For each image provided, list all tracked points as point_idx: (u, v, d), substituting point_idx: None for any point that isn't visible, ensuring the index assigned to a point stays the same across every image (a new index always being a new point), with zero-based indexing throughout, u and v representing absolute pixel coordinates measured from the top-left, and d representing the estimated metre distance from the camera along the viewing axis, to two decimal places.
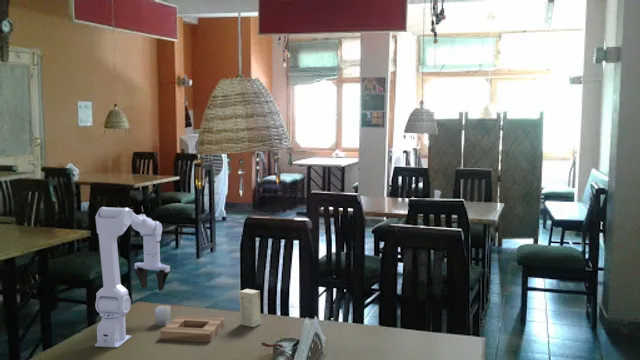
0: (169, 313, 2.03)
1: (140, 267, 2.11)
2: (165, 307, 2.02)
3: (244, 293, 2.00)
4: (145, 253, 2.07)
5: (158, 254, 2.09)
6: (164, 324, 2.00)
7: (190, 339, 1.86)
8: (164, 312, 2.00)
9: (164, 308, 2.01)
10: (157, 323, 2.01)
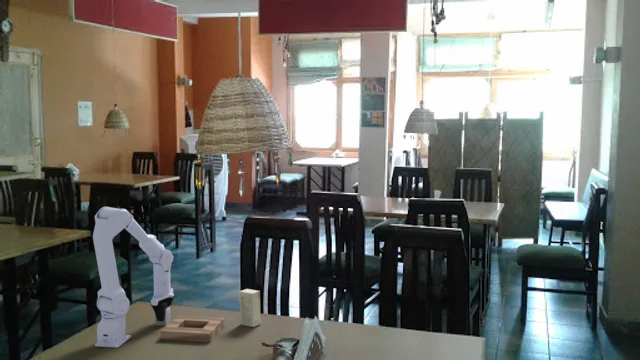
0: (169, 313, 2.03)
1: None
2: None
3: (244, 293, 2.00)
4: (154, 281, 2.00)
5: (159, 284, 1.98)
6: (164, 324, 2.00)
7: (190, 339, 1.86)
8: None
9: None
10: (157, 323, 2.01)
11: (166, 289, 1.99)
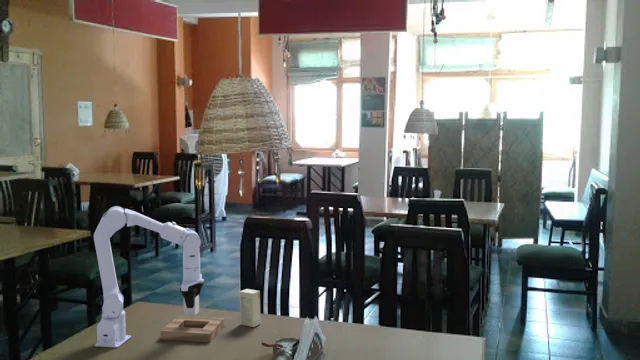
0: (198, 302, 1.94)
1: None
2: None
3: (244, 293, 2.00)
4: None
5: (189, 269, 1.89)
6: (193, 313, 1.91)
7: (190, 339, 1.86)
8: None
9: None
10: (185, 312, 1.91)
11: (196, 274, 1.90)
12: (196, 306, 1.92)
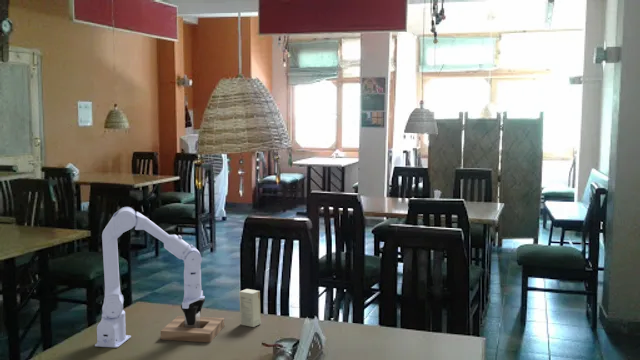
0: (199, 319, 1.94)
1: None
2: None
3: (244, 293, 2.00)
4: None
5: (190, 287, 1.89)
6: None
7: (190, 339, 1.86)
8: None
9: None
10: None
11: (197, 291, 1.90)
12: (197, 323, 1.93)
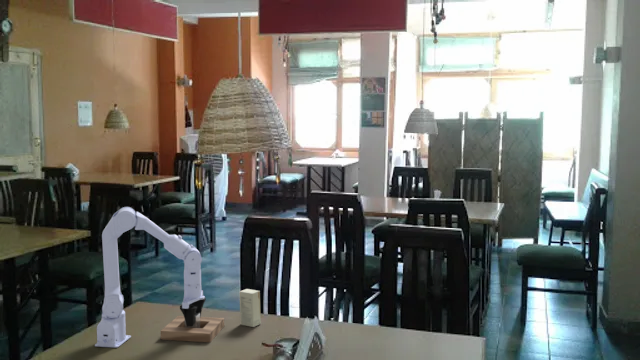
0: (199, 320, 1.94)
1: None
2: (195, 314, 1.93)
3: (244, 293, 2.00)
4: None
5: (190, 287, 1.89)
6: None
7: (190, 339, 1.86)
8: (194, 319, 1.91)
9: None
10: None
11: (197, 291, 1.90)
12: (197, 324, 1.93)
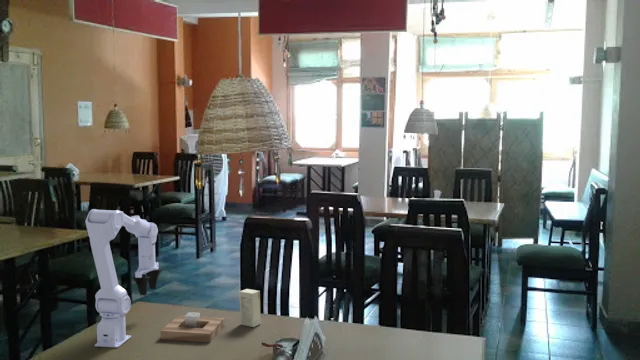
0: (199, 320, 1.94)
1: None
2: (195, 314, 1.93)
3: (244, 293, 2.00)
4: (140, 255, 2.02)
5: (144, 257, 2.02)
6: None
7: (190, 339, 1.86)
8: (194, 319, 1.91)
9: (194, 315, 1.92)
10: None
11: (151, 262, 2.03)
12: (197, 324, 1.93)
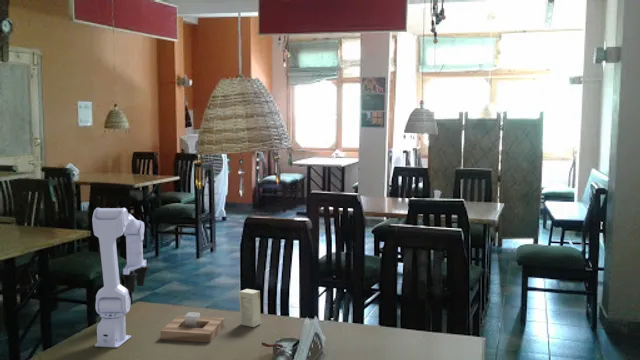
0: (199, 320, 1.94)
1: None
2: (195, 314, 1.93)
3: (244, 293, 2.00)
4: (129, 253, 2.05)
5: (132, 255, 2.05)
6: None
7: (190, 339, 1.86)
8: (194, 319, 1.91)
9: (194, 315, 1.92)
10: None
11: (138, 259, 2.06)
12: (197, 324, 1.93)
